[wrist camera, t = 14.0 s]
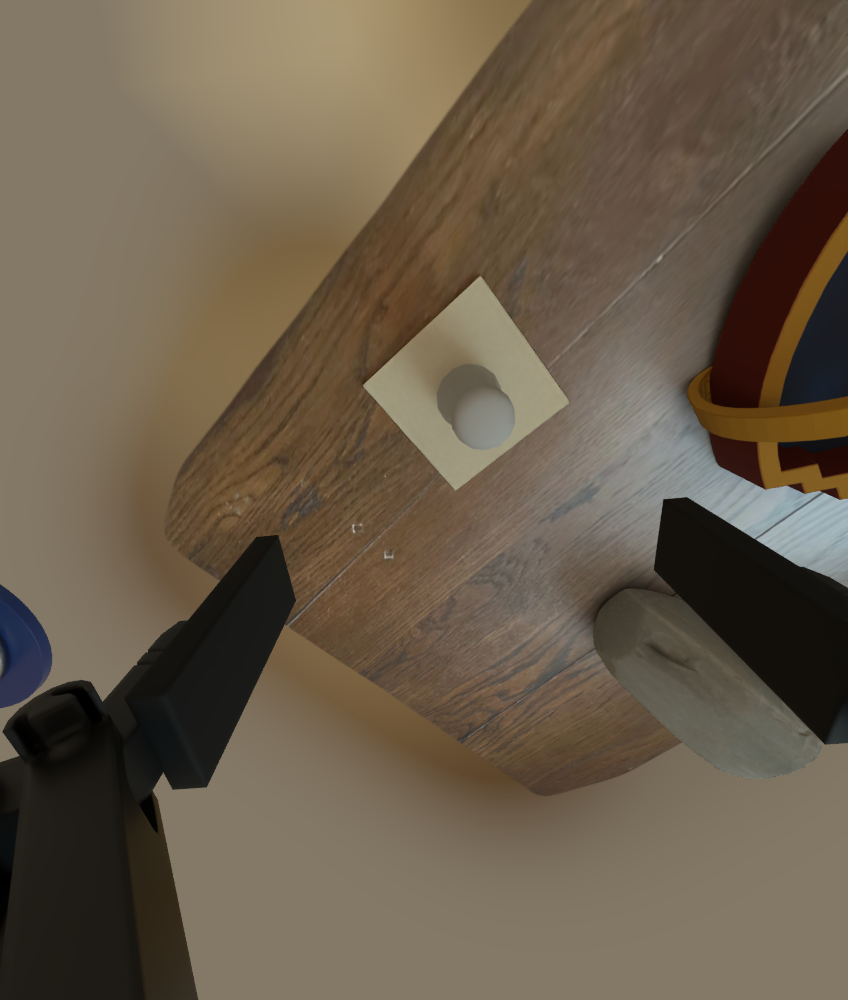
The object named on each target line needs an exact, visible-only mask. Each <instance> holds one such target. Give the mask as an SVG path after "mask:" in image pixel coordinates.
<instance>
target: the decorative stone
mask: <svg viewBox="0 0 848 1000" xmlns="http://www.w3.org/2000/svg"><path fill="white" fill-rule="evenodd" d="M593 637H594V646H595V649H596V651H597V653H598V655H599V656H600V658H601V659H602V661H603V662H604V664H605V666H606V667H607V669H608V670H609V671H610V673H611V674H612V675H613V676H614V677H615V678H616V679H617V680H618V681H619V683H620V684H621V685H622V686H623V687H624V688H625V689H626V690H627V691H628V692H629V693H630V694H631V695H632V696H633V697H634V698H635V699H636V700H637V701H638V702H640V703H641V704H642V705H643V706H644V707H645V708H646V709H647V710H648V711H649V712H650V713H651V714H652V715H653V716H654V717H655V718H656V719H657V720H658V721H660V722H661V723H662V724H663V725H664V726H665V727H666V728H667V729H668V730H669V731H670V732H672V733H673V734H674V735H675V736H676V737H677V738H678V739H679V740H680V741H682V742H683V743H684V744H685V745H687V746H688V747H689V748H690V749H691V750H693V751H694V752H695V753H697V754H698V755H699V756H701V757H702V758H703V759H705V760H706V761H707V762H709V763H710V764H711V765H713V766H714V767H715V768H717V769H719V770H721V771H723V772H725V773H729V774H732V775H736V776H741V777H746V778H771V777H776V776H780V775H785V774H789V773H792V772H795V771H797V770H799V769H801V768H804V767H805V766H806V765H807V764H809V763H811V762H812V761H814V760H815V759H816V758H817V756H818V755H819V753H820V751H821V748H822V742H821V740H820V739H819V738H818V737H817V736H816V735H815V734H814V733H813V732H812V731H811V730H810V729H809V728H808V727H807V726H806V725H805V724H804V723H803V722H802V721H801V720H800V719H799V718H798V717H797V716H796V715H795V713H794V712H793V711H792V710H791V709H790V708H789V707H788V706H787V705H786V704H785V703H784V702H783V701H782V700H781V699H780V698H779V697H778V696H777V695H776V694H775V693H774V692H773V691H772V690H771V689H770V688H769V687H768V686H767V685H766V684H765V683H764V682H763V681H762V680H761V679H760V678H759V677H758V676H757V675H756V674H755V673H754V672H753V671H752V670H751V669H750V668H749V667H748V665H747V664H746V663H745V662H744V661H743V660H742V659H741V658H740V657H739V656H738V655H737V654H736V653H735V652H734V651H733V650H732V649H731V648H730V647H729V646H728V645H727V644H726V643H725V642H724V641H723V640H722V639H721V638H720V637H719V636H718V635H717V634H716V633H715V632H714V631H713V630H712V629H711V628H710V627H709V626H708V625H707V624H706V623H705V622H704V621H703V620H702V619H701V617H700V616H699V615H698V614H697V613H696V612H695V611H694V610H693V609H692V608H691V607H690V606H689V605H688V604H687V603H686V602H685V601H683V600H680V599H678V598H675V597H672V596H668V595H665V594H661V593H657V592H653V591H648V590H643V589H624V590H622V591H620V592H618V593H617V594H616V595H615V596H613V597H612V598H611V599H610V600H609V601H608V602H607V603H606V604H604V606H603V607H602V608H601V609H600V611H599V613H598V616H597V618H596V622H595V626H594V635H593Z"/></svg>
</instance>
